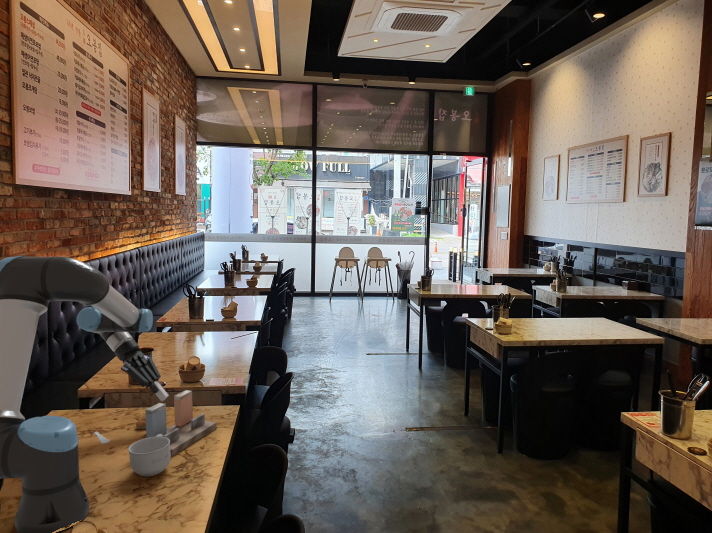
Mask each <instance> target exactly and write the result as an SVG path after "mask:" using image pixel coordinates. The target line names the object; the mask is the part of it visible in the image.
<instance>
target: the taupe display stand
mask: <svg viewBox="0 0 712 533" xmlns="http://www.w3.org/2000/svg"><path fill="white" fill-rule="evenodd" d="M205 418H206V416H205V413H201V414H200V415H197V416H196V417H193V419H192V420H191V421H190V422H188V423H187V424H185V425H183V426H175V423H174V424H173V425H171V426H169V427H166V428H167V434H166V435H164V436H163V437H166V438H168V439H169V440H170V453H171V457H174V456H176V455H178V454H179V453H180V452H181V451H183V450H185V449H187V448H188V447H190V446H191V445H193V444H194V443H196V442H198V441H199V440H201V439H202V438H204V437H205V436H207V435H208V434H210V433H211V432H212V431H215V430H216V429H217V422H215V421H209V420H206V419H205ZM214 429H215V430H214Z"/></svg>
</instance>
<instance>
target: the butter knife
mask: <svg viewBox="0 0 712 533" xmlns="http://www.w3.org/2000/svg"><path fill="white" fill-rule="evenodd" d="M93 434H94V435H95V436H96V437H97V438H98V441H99V442H100V444H108V443H109V442H111V441H110V439H108V438H107V437H105V436H104V435H102V434H100V432H98V431H94V432H93Z"/></svg>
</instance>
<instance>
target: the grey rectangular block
mask: <svg viewBox="0 0 712 533" xmlns="http://www.w3.org/2000/svg"><path fill="white" fill-rule="evenodd" d="M166 404H167V403H163V402H162V403H161V402H158V403H157V404H153V405H152V406H150V407H148V408H146V409H145V415H146V429H145V430H146V432H145V433H146V438H149V437H156V436H157V435H158V434H162V435H163V436H164V435H166V434H167V428H168V427H167V407H166V406H167V405H166Z"/></svg>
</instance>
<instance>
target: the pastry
mask: <svg viewBox="0 0 712 533" xmlns="http://www.w3.org/2000/svg"><path fill="white" fill-rule="evenodd" d="M135 425H136V429H139V430H146V414H144V415H143V416H142V417H141V418H140V419H138V420H137V422H136V424H135Z"/></svg>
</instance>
